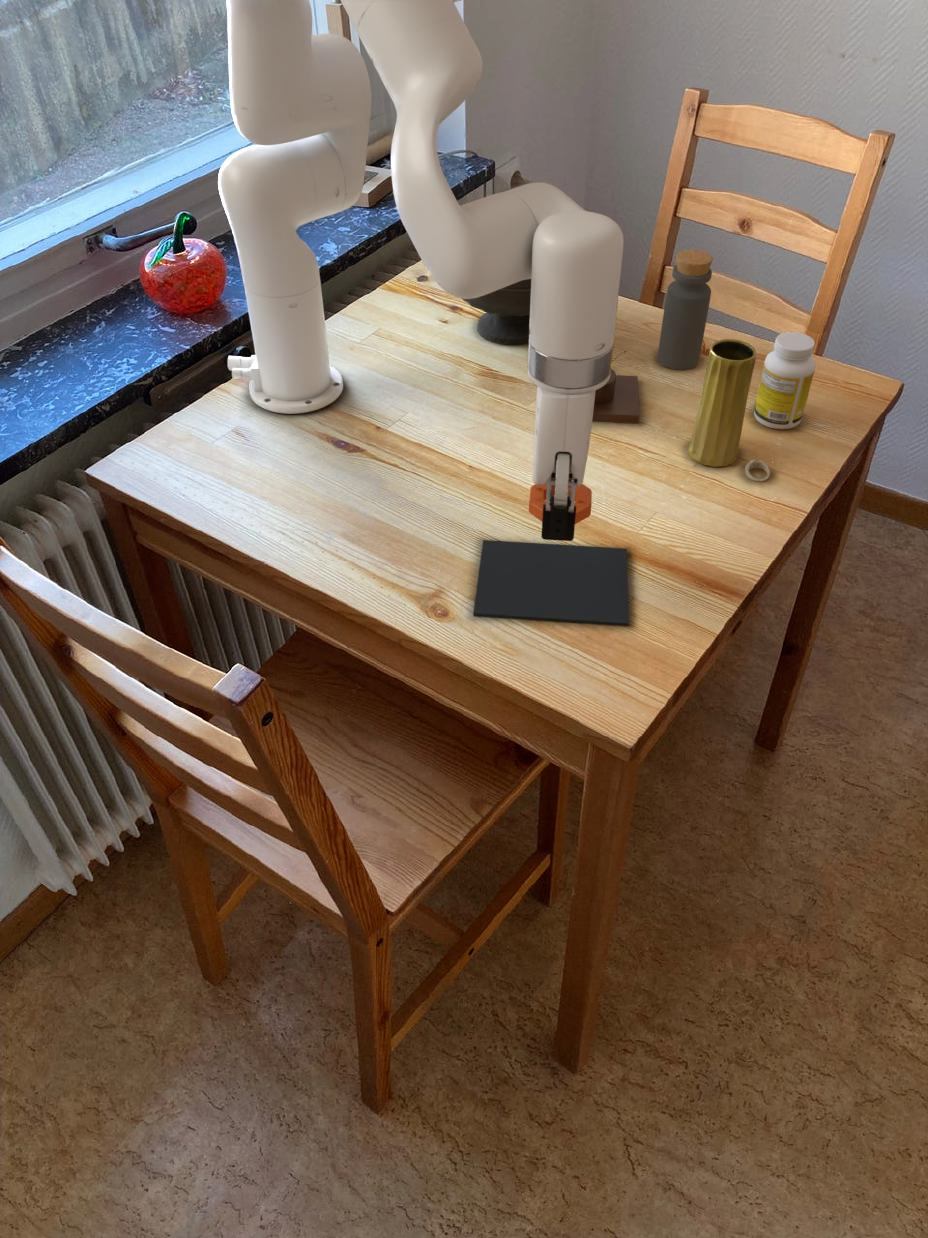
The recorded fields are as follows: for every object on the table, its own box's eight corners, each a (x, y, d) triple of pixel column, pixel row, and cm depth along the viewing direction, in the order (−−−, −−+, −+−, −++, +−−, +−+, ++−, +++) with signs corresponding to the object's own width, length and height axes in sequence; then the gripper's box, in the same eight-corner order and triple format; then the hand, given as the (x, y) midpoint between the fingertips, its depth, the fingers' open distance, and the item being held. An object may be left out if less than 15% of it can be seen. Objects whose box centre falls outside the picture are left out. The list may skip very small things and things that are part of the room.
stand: (545, 418, 130) (549, 363, 124) (548, 379, 137) (552, 325, 132) (638, 423, 129) (645, 368, 124) (636, 383, 136) (643, 329, 131)
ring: (748, 486, 120) (739, 468, 122) (772, 483, 121) (762, 465, 122) (752, 478, 119) (743, 460, 121) (775, 475, 119) (766, 456, 121)
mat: (473, 616, 103) (473, 613, 103) (483, 542, 112) (483, 539, 112) (628, 626, 102) (628, 623, 102) (626, 551, 111) (626, 548, 110)
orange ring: (527, 523, 99) (528, 512, 98) (530, 487, 103) (531, 475, 102) (590, 527, 99) (591, 516, 98) (590, 490, 103) (591, 479, 102)
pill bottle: (786, 402, 133) (805, 325, 125) (810, 426, 128) (831, 348, 121) (744, 409, 131) (760, 332, 124) (766, 434, 127) (785, 356, 120)
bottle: (703, 354, 142) (722, 251, 131) (692, 373, 138) (710, 269, 128) (664, 345, 144) (679, 243, 133) (651, 364, 140) (666, 261, 129)
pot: (563, 363, 139) (561, 218, 126) (442, 356, 144) (427, 215, 130) (588, 308, 152) (588, 171, 138) (476, 303, 156) (465, 170, 143)
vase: (737, 470, 122) (760, 365, 112) (686, 464, 122) (705, 360, 113) (737, 442, 126) (760, 339, 116) (688, 437, 127) (707, 334, 117)
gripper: (532, 312, 96) (526, 466, 108) (522, 408, 84) (516, 570, 96) (611, 315, 95) (595, 470, 108) (612, 412, 83) (594, 574, 95)
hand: (558, 515), depth 102 cm, fingers closed on orange ring, 6 cm apart
